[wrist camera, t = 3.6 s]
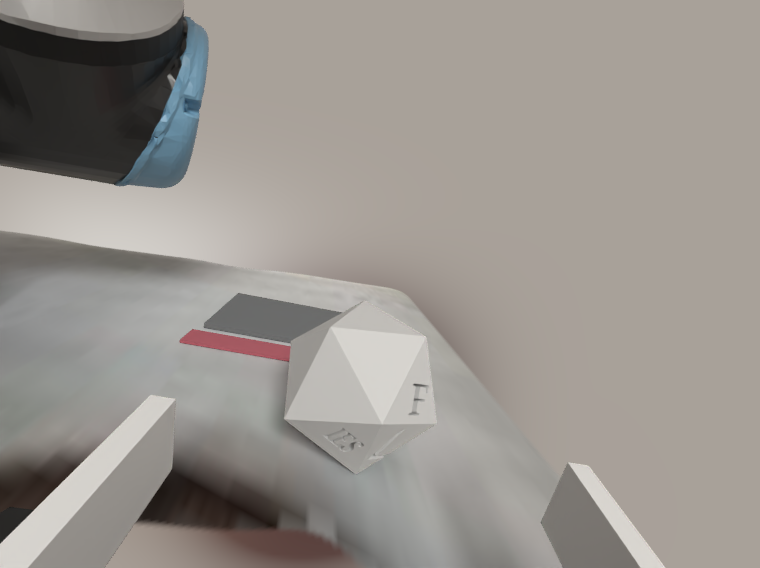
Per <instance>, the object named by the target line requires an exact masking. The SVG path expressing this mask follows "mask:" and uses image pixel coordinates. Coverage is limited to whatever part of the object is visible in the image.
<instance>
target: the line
mask: <svg viewBox="0 0 760 568" xmlns="http://www.w3.org/2000/svg"><path fill="white" fill-rule="evenodd" d="M180 343H186V344H191V345H197V346H203V347H209V348H215V349H220V350H226V351H232V352H238V353H243V354H249V355H255V356H261V357H266V358H272V359H278V360H284V361H289V359H290V348H291V347H290V346H285V345H279V344H273V343H268V342H262V341H256V340H251V339H245V338H239V337H234V336H228V335H222V334H217V333H211V332H206V331H200V330H194V329H192V330H191V331H190V332H189V333H187V334H186V335H185V336H184V337H183V338H182V339H180Z"/></svg>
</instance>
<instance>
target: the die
mask: <svg viewBox="0 0 760 568" xmlns="http://www.w3.org/2000/svg"><path fill="white" fill-rule="evenodd" d="M284 420H286V421H287V422H288V423H289V424H291V425H292V426H293V427H295V428H296V429H297V430H299V431H300V432H301V433H302V434H304V435H305V436H306V437H308V438H309V439H310V440H312V441H313V442H314V443H315V444H317V445H318V446H319V447H321V448H322V449H323V450H325V451H326V452H327V453H328V454H330V455H331V456H332V457H334V458H335V459H336V460H338V461H339V462H340V463H341V464H343V465H344V466H345V467H347V468H348V469H349V470H350V471H352V472H353V473H354V474H358V473H360V472H361V471H363V470H364V469H366V468H368V467H369V466H371V465H372V464H374V463H375V462H377V461H379V460H380V459H382V458H383V456H384V455H388V454H390V453H391V452H393V451H395V450H396V449H398V448H399V447H401V446H403V445H404V444H406V443H407V442H409V441H410V440H412V439H414V438H415V437H417V436H418V435H420V434H422V433H423V432H425V431H426V430H428V429H430V428H431V427H433V426H434V425H436V424H437V419H436V411H435V403H434V395H433V387H432V378H431V370H430V362H429V354H428V346H427V337H426V336H425V335H423V334H421V333H420V332H418V331H416V330H414V329H413V328H411V327H409V326H408V325H406V324H404V323H403V322H401V321H399V320H398V319H396V318H394V317H393V316H391V315H389V314H388V313H386V312H384V311H383V310H381V309H379V308H378V307H376V306H374V305H372V304H371V303H369V302H367V301H366V300H365V301H363V302H361V303H359V304H357V305H356V306H354V307H352V308H350V309H348V310H346V311H345V312H343V313H341V314H339V315H337V316H335V317H334V318H332V319H330V320H328V321H326V322H324V323H323V324H321V325H319V326H317V327H315V328H313V329H312V330H310V331H308V332H306V333H304V334H302V335H301V336H299V337H297V338H295V339H293V340H291V348H290V359H289V370H288V381H287V391H286V402H285V413H284Z"/></svg>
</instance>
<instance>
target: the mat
mask: <svg viewBox="0 0 760 568" xmlns="http://www.w3.org/2000/svg"><path fill="white" fill-rule="evenodd" d="M341 313H342V312H336V311H331V310H326V309H320V308H315V307H310V306H305V305H299V304H294V303H289V302H283V301H278V300H273V299H267V298H262V297H257V296H251V295H246V294H241V293H238V294H237V295H236V296H235V297H233V298H232V299H231V300H230V301H229V302H228V303H227V304H226V305H224V306H223V307H222V308H221V309H220V310H219V311H218V312H216V313H215V314H214V315H213V316H212V317H211V318H210V319H209V320H207V321H206V322H205V323H204V328H210V329H215V330H221V331H227V332H232V333H238V334H244V335H249V336H255V337H260V338H266V339H272V340H277V341H283V342H288V343H291V340H293V339H295V338H297V337H299V336H301V335H302V334H304V333H306V332H308V331H310V330H312V329H313V328H315V327H317V326H319V325H321V324H323V323H324V322H326V321H328V320H330V319H332V318H334V317H335V316H337V315H339V314H341Z"/></svg>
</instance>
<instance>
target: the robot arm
mask: <svg viewBox="0 0 760 568" xmlns="http://www.w3.org/2000/svg"><path fill="white" fill-rule="evenodd" d="M183 13H184V0H0V165H1V166H7V167H13V168H19V169H25V170H32V171H37V172H43V173H49V174H55V175H61V176H67V177H73V178H79V179H85V180H91V181H98V182H103V183H109V184H114V185H116V186H126V185H135V186H146V187H156V188H167V187H172V186H174V185H176V184H177V183H179V182H180V181H181V180H182V179H183V177H184V175H185V174H186V171H187V168H188V165H189V162H190V159H191V155H192V151H193V147H194V143H195V138H196V133H197V128H198V122H199V109H200V107H201V102H202V97H203V93H204V87H205V80H206V72H207V63H208V36H207V33H206V31H205V30H204V28H202V27H201V26H200V25H198V24H196V23H195V22H194V21H193V20H191V19H190V18H189V17H184V14H183ZM175 408H176V399H173V398H166V397H160V396H154V395H150V396H149V397H148V398H147V399H146V400H145V401H144V402H143V403H142V404H141V405H140V406H139V407H138V408H137V409H136V410H135V411H134V412H133V413H132V414H131V415H130V416H129V417H128V418H127V419H126V420H125V421H124V422H123V423H122V424H121V425H120V426H119V427H118V428H117V429H116V430H115V431H114V432H113V433H112V434H111V435H110V436H109V437H108V438H107V439H106V440H105V441H104V442H103V443H102V444H101V445H100V446H99V447H98V448H97V449H96V450H95V451H94V452H92V453H91V454H90V455H89V456H88V457H87V458H86V459H85V460H84V461H83V462H82V463H81V464H80V465H79V466H78V467H77V468H76V469H75V470H74V471H73V472H72V473H71V474H70V475H69V476H68V477H67V478H66V479H65V480H64V481H63V482H62V483H61V484H60V485H59V486H58V487H57V488H56V489H55V490H54V491H53V492H52V493H51V494H50V495H49V496H48V497H47V498H46V499H45V500H44V501H43V502H42V503H41V504H40V505H39V506H38V507H37V508H36V509H35V510H29V509H21V508H14V507H9V508H7V509H6V510H4V511H2V512H1V513H0V568H105V566H106V565H107V564H108V562H109V561H110V559H111V558H112V556H113V555H114V553H115V552H116V550H117V549H118V547H119V546H120V544H121V543H122V542H123V540H124V539H125V537H126V536H127V534H128V533H129V531H130V530H131V528H132V527H133V525H134V524H135V522H136V521H137V520H138V518H139V517H140V515H141V514H142V512H143V511H144V509H145V508H146V506H147V505H148V503H149V502H150V500H151V499H152V498H153V496H154V495H155V493H156V492H157V490H158V489H159V487H160V486H161V484H162V483H163V481H164V480H165V478H166V477H167V476H168V474H169V473H170V471H171V470H172V462H173V444H174V426H175ZM541 524H542V526H543V528H544V530H545V532H546V534H547V536H548V538H549V540H550V542H551V544H552V546H553V548H554V550H555V552H556V554H557V556H558V558H559V560H560V562H561V564H562V566H563V568H665V566H663V564H662V563H661V561H660V560H659V559H658V557H657V556H656V555H655V553H654V552H653V551H652V549H651V548H650V547H649V545H648V544H647V543H646V541H645V540H644V539H643V537H642V536H641V535H640V533H639V532H638V531H637V529H636V528H635V527H634V525H633V524H632V523H631V521H630V520H629V519H628V517H627V516H626V515H625V513H624V512H623V511H622V510H621V508H620V507H619V506H618V504H617V503H616V501H615V500H614V499H613V498H612V496H611V495H610V494H609V492H608V491H607V490H606V488H605V487H604V486H603V484H602V483H601V482H600V480H599V479H598V478H597V476H596V475H595V474H594V472H593V471H592V470H591V468H590V467H589V466H587V465H581V464H575V463H569V462H568V463H567V466H566V468H565V470H564V472H563V474H562V476H561V479H560V481H559V483H558V485H557V487H556V490H555V492H554V494H553V496H552V499H551V501H550V503H549V505H548V507H547V510H546V512H545V514H544V516H543V518H542V521H541Z"/></svg>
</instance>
